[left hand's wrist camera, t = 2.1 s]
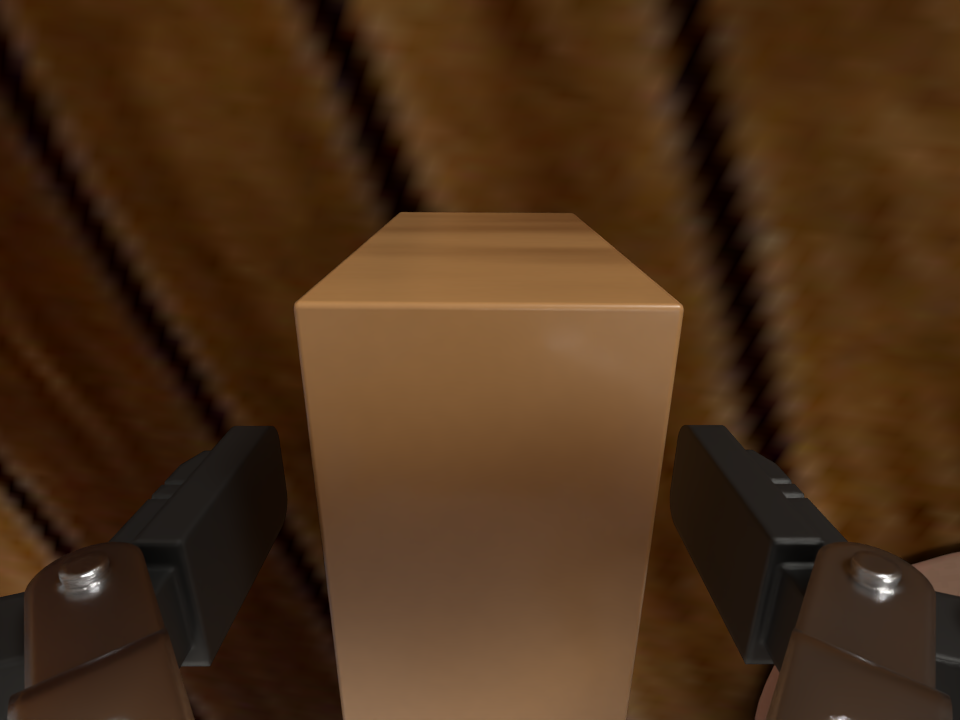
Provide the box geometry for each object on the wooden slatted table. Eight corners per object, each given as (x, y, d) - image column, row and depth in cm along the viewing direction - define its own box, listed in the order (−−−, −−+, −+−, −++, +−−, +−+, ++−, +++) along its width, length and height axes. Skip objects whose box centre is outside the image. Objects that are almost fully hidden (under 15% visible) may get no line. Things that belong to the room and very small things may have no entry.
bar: (398, 211, 16) (290, 302, 7) (574, 212, 16) (687, 304, 7) (424, 775, 25) (391, 1132, 16) (538, 777, 25) (569, 1135, 16)
